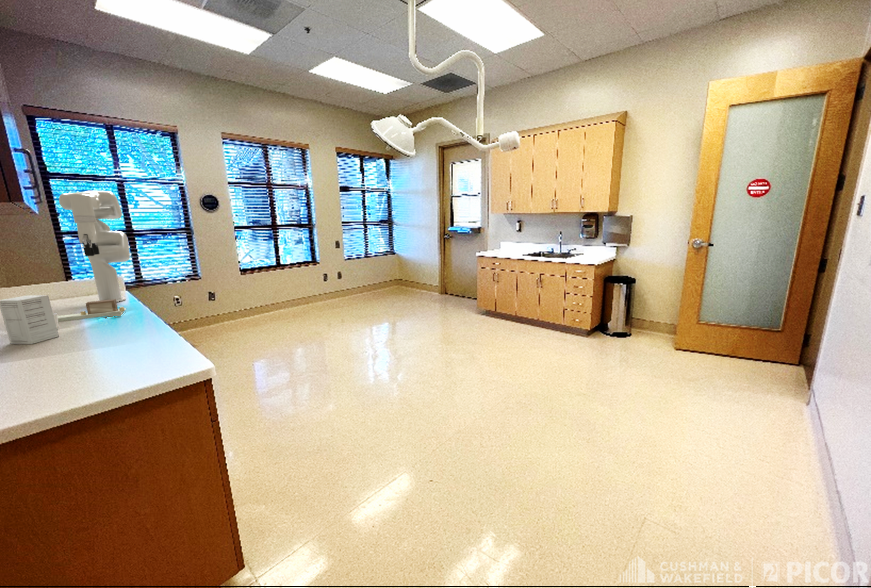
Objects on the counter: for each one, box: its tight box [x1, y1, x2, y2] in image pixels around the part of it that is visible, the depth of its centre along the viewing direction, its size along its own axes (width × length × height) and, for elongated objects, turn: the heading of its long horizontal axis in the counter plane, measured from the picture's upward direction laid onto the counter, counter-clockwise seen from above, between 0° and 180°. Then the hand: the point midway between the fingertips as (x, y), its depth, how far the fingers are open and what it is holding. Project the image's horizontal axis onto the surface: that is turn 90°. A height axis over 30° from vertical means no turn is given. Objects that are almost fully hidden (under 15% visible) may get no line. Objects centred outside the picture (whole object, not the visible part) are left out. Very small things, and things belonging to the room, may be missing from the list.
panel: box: [58, 306, 127, 323], centre depth 164 cm, size 14×27×3 cm, turn 123°
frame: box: [85, 299, 119, 314], centre depth 167 cm, size 4×10×6 cm, turn 123°
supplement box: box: [0, 294, 60, 345], centre depth 132 cm, size 10×9×17 cm
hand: (92, 255), depth 173 cm, fingers open, 9 cm apart
